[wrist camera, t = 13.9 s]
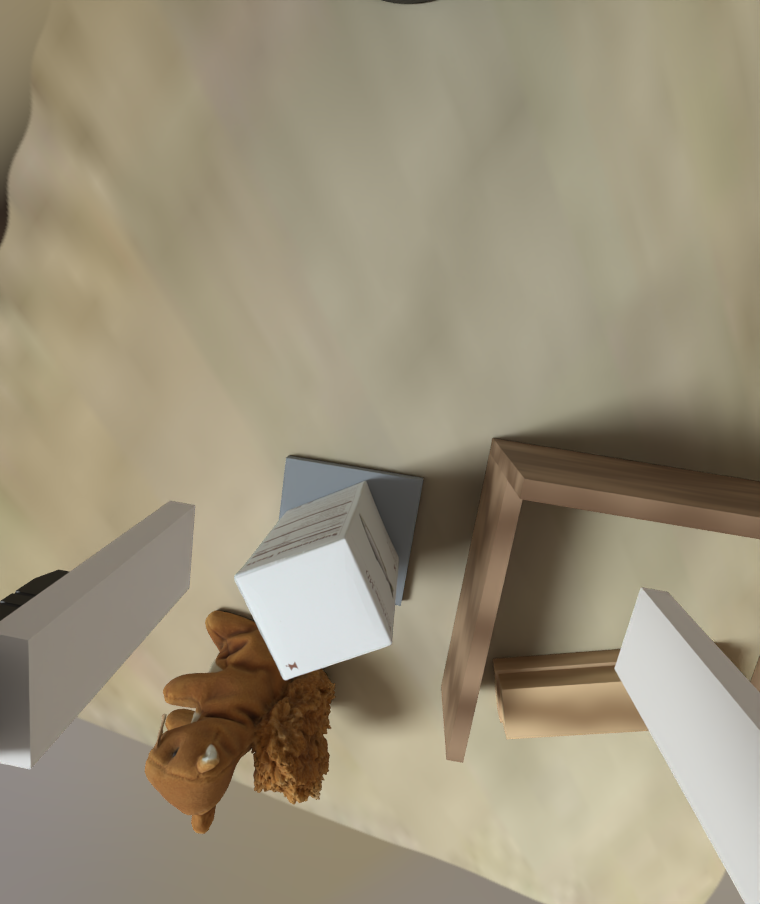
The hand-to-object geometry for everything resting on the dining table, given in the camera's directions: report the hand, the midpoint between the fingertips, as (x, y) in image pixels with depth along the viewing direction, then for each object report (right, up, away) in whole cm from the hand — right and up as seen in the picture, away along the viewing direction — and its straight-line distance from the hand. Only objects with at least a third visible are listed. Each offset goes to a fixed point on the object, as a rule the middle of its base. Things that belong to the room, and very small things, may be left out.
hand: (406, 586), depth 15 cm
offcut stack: (+18, -15, +29) cm, 38 cm away
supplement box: (-4, -3, +27) cm, 27 cm away
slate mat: (-4, -3, +28) cm, 28 cm away
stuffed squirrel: (-11, -16, +31) cm, 37 cm away
